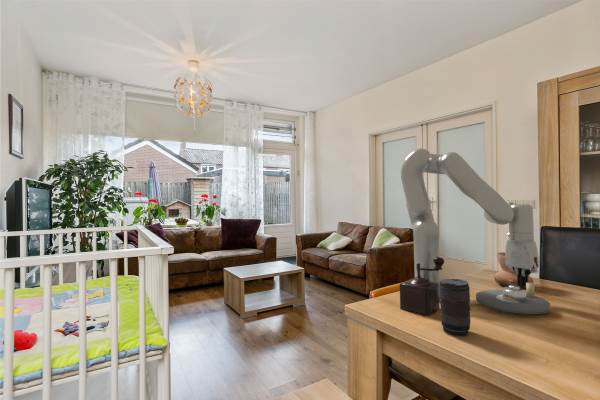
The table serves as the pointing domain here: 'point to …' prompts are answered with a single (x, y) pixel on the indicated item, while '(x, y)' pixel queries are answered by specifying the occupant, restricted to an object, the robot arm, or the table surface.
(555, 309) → the table surface
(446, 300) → the camera lens
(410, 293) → the manual coffee grinder
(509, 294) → the cover
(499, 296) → the turntable
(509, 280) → the ceramic jug
